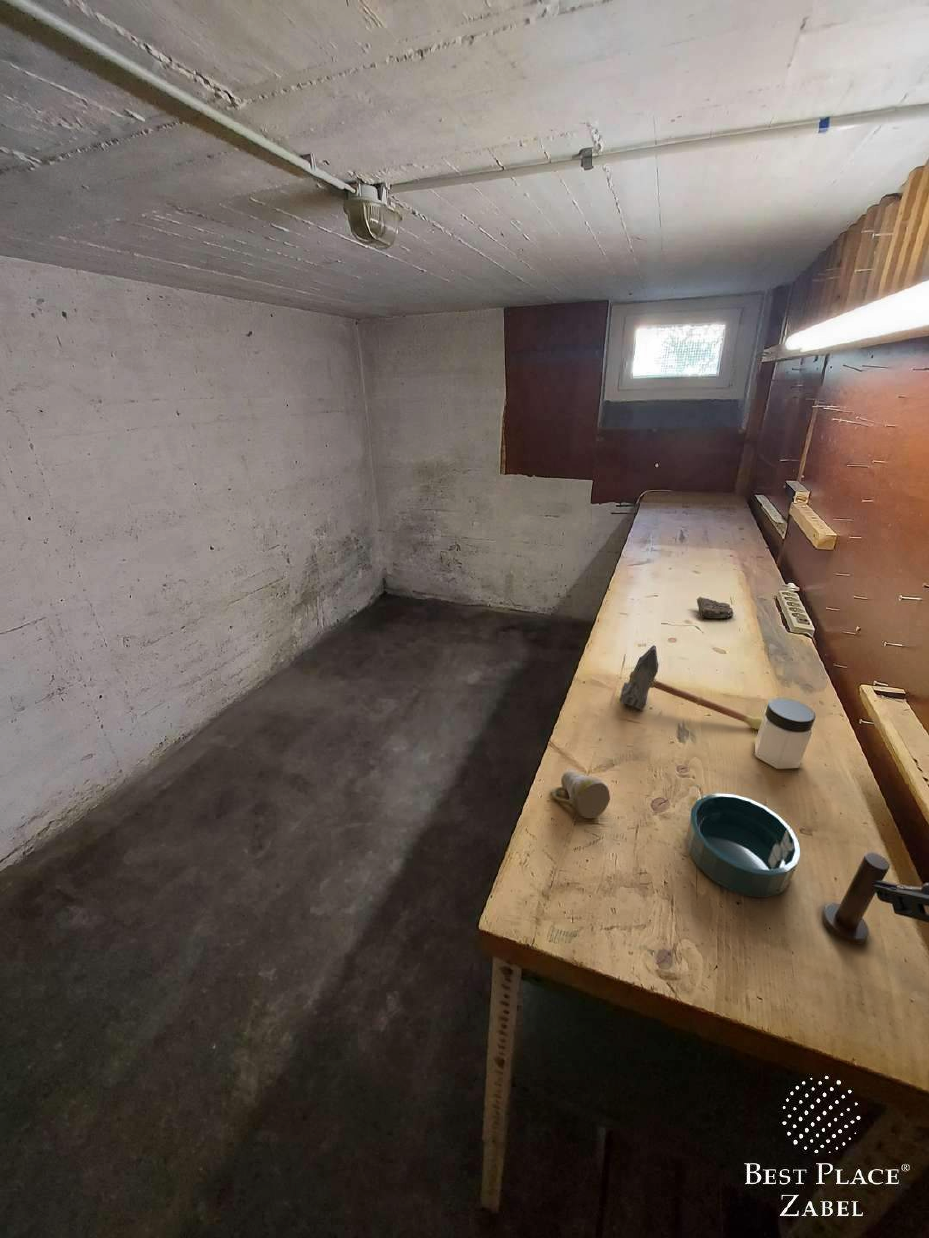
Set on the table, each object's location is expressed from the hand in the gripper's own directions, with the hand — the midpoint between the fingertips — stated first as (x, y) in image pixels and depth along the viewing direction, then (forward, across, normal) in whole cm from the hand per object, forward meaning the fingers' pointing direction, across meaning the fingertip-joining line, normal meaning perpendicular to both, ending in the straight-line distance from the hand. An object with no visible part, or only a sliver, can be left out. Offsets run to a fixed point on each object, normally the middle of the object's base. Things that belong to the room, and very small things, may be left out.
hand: (910, 886), depth 59 cm
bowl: (+23, +9, -1) cm, 24 cm away
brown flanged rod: (+14, 0, +8) cm, 16 cm away
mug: (+33, +31, -11) cm, 47 cm away
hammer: (+49, -2, -28) cm, 57 cm away
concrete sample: (+84, -38, -63) cm, 112 cm away
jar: (+38, -14, -16) cm, 44 cm away
